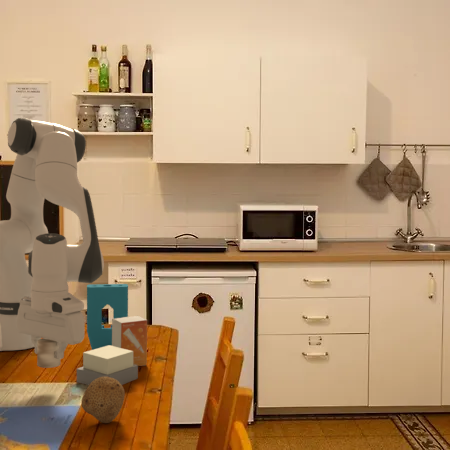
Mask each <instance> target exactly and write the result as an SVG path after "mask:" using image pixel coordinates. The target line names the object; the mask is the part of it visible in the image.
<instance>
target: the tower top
mask: <svg viewBox="0 0 450 450" xmlns="http://www.w3.org/2000/svg"><path fill="white" fill-rule="evenodd" d="M82 355H83V356H82V359H83V360H82V362H83V363H82V364H83V365H82V367H83V368H86V369H89V370H93V371H96V372H100V373H103V374H107V375H108V374H111V373H114V372H117V371H120V370H124V369H127V368H130V367H133V351H131V350H127V349H123V348H119V347H115V346H111V345H108V346H105V347H101V348H98V349H94V350H92V349H90V350H87V351H84V352H83V353H82Z"/></svg>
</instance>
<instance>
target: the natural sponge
mask: <svg viewBox="0 0 450 450" xmlns="http://www.w3.org/2000/svg"><path fill="white" fill-rule="evenodd" d="M124 388H125V387H123V385H121V384H120V382H119V381H117V380H116V379H114V378H111V377H99V378H97V379H95V380H94V381H92V382H91V383H90V384H89V385H87V388H86V389H85V391H84V393H83V396H82V397H81V407H82V410H83V411H84V412H85V413H87V414H89V415H91V416H93V418H95V419H96V420H98V422H100V423H103V424H110V423H111V422H113V421H114V420H115V418H117V416H118V415H119V414H120V411H121V409H122V407H123V406H124V405H123V404H124V401H125V396H126V395H125V389H124Z"/></svg>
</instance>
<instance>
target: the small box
mask: <svg viewBox="0 0 450 450" xmlns="http://www.w3.org/2000/svg"><path fill="white" fill-rule="evenodd" d="M111 325H112V346H115V347H119V348H123V349H127V350H131V351H133V364H134V365H138V367H144V366H147V363H148V362H147V354H148V353H147V351H148V346H147V345H148V319H146V318H144V317H142V316H140V315H133V316H128V317H123V318H116V319H113V318H112V319H111Z"/></svg>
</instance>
